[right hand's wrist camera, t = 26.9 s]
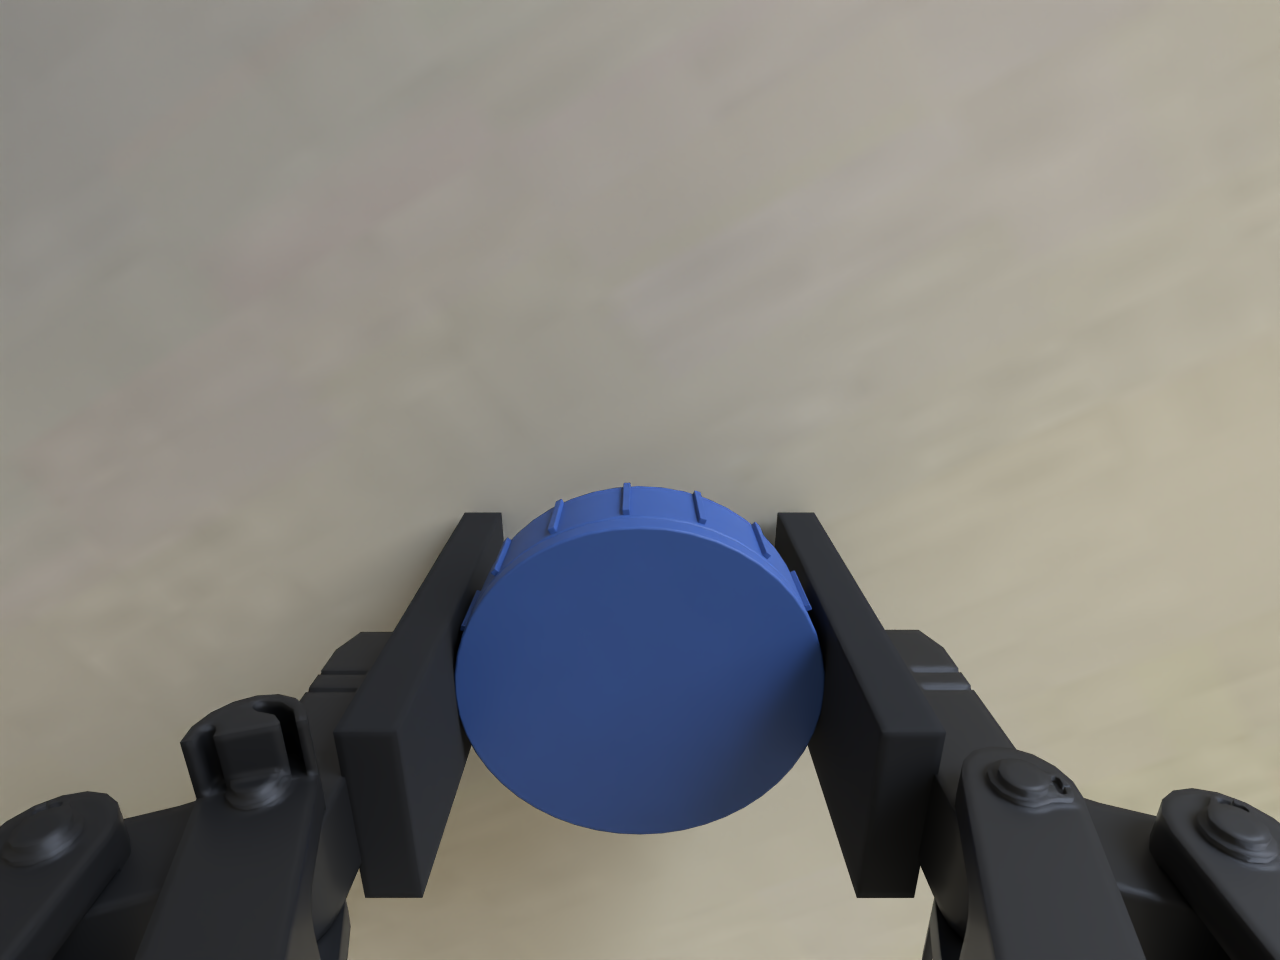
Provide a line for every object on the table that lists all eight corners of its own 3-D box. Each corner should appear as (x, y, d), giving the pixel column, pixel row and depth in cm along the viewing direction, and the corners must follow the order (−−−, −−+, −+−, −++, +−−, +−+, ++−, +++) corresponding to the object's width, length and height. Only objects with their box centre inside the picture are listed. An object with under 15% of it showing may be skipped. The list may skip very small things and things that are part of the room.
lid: (672, 413, 11) (678, 444, 9) (865, 660, 12) (898, 723, 11) (406, 610, 12) (372, 668, 10) (613, 811, 14) (609, 886, 12)
